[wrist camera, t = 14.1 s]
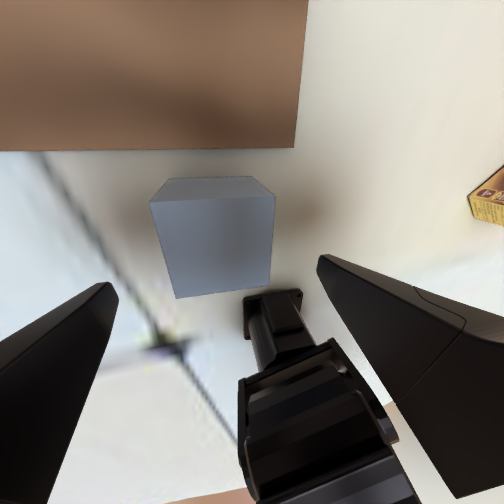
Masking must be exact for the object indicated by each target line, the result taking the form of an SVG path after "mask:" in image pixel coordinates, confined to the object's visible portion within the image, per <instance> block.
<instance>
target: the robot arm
mask: <svg viewBox="0 0 504 504" xmlns="http://www.w3.org/2000/svg"><path fill="white" fill-rule="evenodd" d="M316 271H317V275H318V277H319V279H320V281H321V283H322V285H323V287H324V289H325V291H326V293H327V295H328V297H329V299H330V301H331V302H332V304H333V306H334V307H335V309H336V311H337V312H338V314H339V315H340V317H341V318H342V320H343V322H344V323H345V325H346V326H347V328H348V330H349V331H350V333H351V334H352V336H353V337H354V339H355V341H356V342H357V344H358V345H359V347H360V349H361V350H362V352H363V353H364V355H365V357H366V358H367V360H368V361H369V363H370V364H371V366H372V368H373V369H374V371H375V372H376V374H377V376H378V377H379V379H380V380H381V382H382V383H383V385H384V387H385V388H386V390H387V391H388V393H389V395H390V396H391V398H392V399H393V401H394V402H395V403H396V406H397V407H398V409H399V411H400V412H401V414H402V415H403V417H404V419H405V420H406V422H407V423H408V425H409V427H410V428H411V430H412V431H413V433H414V434H415V436H416V438H417V439H418V441H419V442H420V444H421V446H422V447H423V449H424V450H425V452H426V453H427V455H428V457H429V458H430V460H431V462H432V463H433V465H434V466H435V468H436V469H437V471H438V473H439V474H440V476H441V477H442V479H443V481H444V482H445V484H446V485H447V487H448V488H449V490H450V491H451V493H452V494H453V495H454V497H455V498H456V499H459V498H462V497H466V496H469V495H472V494H475V493H479V492H482V491H485V490H488V489H491V488H494V487H498V486H501V485H504V317H502V316H499V315H496V314H493V313H490V312H487V311H484V310H481V309H478V308H475V307H472V306H469V305H466V304H463V303H460V302H457V301H454V300H451V299H448V298H445V297H442V296H439V295H437V294H434V293H431V292H428V291H426V290H423V289H420V288H418V287H415V286H411V285H410V284H407V283H404V282H402V281H399V280H396V279H394V278H391V277H388V276H386V275H383V274H380V273H378V272H375V271H372V270H370V269H367V268H364V267H362V266H359V265H356V264H354V263H351V262H348V261H346V260H343V259H340V258H338V257H335V256H332V255H330V254H325V255H320V257H319V259H318V264H317V269H316ZM302 298H303V293H302V291H301V290H300V289H297V290H290V291H284V292H278V293H272V294H265V295H259V296H253V297H247V298H244V299H243V301H242V305H243V331H244V339H245V340H251V341H252V345H253V349H254V353H255V358H256V362H257V366H258V371H259V373H256V374H254V375H252V376H250V377H248V378H242V379H240V380H239V381H238V458H239V465H240V467H241V468H242V471H243V475H244V479H245V482H246V485H247V488H248V490H249V493H250V495H251V497H252V498H253V499H254V501H256V504H422V503H421V501H420V499H419V497H418V495H417V494H416V492H415V490H414V488H413V486H412V484H411V482H410V480H409V478H408V476H407V474H406V473H405V471H404V469H403V467H402V465H401V463H400V461H399V459H398V457H397V456H396V454H395V452H394V450H393V448H392V446H391V445H392V444H394V443H397V442H399V437H398V434H397V432H396V430H395V428H394V426H393V424H392V422H391V420H390V419H389V417H388V415H387V413H386V412H385V410H384V408H383V406H382V405H381V403H380V402H379V400H378V398H377V397H376V395H375V394H374V392H373V391H372V389H371V388H370V386H369V385H368V384H367V382H366V381H365V379H364V378H363V377H362V375H361V374H360V373H359V371H358V370H357V369H356V367H355V366H354V365H353V363H352V362H351V361H350V359H349V358H348V357H347V355H346V354H345V353H344V351H343V350H342V348H341V347H340V346H339V344H338V343H337V342H336V340H335V339H334V338H333V337H332V338H330V339H328V340H327V342H324V343H322V344H320V345H318V346H317V345H316V343H315V341H314V339H313V337H312V335H311V334H310V332H309V330H308V328H307V326H306V324H305V323H304V321H303V319H302V317H301V315H300V308H301V303H302ZM247 302H248V303H247ZM118 304H119V298H118V295H117V293H116V291H115V289H114V287H113V285H112V284H111V283H110V282H102V283H96V284H95V285H93V286H91V287H90V288H88V289H86V290H85V291H83V292H81V293H80V294H78V295H76V296H75V297H73V298H71V299H70V300H68V301H67V302H65V303H63V304H62V305H60V306H58V307H57V308H55V309H53V310H52V311H50V312H48V313H47V314H45V315H43V316H42V317H40V318H38V319H37V320H35V321H34V322H32V323H30V324H29V325H27V326H25V327H24V328H22V329H20V330H19V331H17V332H15V333H14V334H12V335H10V336H9V337H7V338H5V339H4V340H2V341H1V342H0V504H47V502H48V499H49V497H50V494H51V491H52V489H53V486H54V484H55V481H56V478H57V476H58V473H59V470H60V468H61V465H62V463H63V460H64V457H65V455H66V452H67V449H68V447H69V444H70V441H71V439H72V436H73V434H74V431H75V428H76V426H77V423H78V420H79V418H80V415H81V413H82V410H83V407H84V405H85V402H86V399H87V397H88V394H89V391H90V389H91V386H92V384H93V381H94V378H95V376H96V373H97V370H98V368H99V365H100V363H101V360H102V357H103V355H104V352H105V349H106V347H107V344H108V341H109V338H110V335H111V331H112V327H113V323H114V319H115V315H116V312H117V308H118ZM338 371H339V372H338Z"/></svg>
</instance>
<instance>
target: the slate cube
mask: <svg viewBox="0 0 504 504" xmlns="http://www.w3.org/2000/svg"><path fill="white" fill-rule="evenodd" d="M149 205H150V209H151V213H152V216H153V220H154V223H155V227H156V230H157V234H158V237H159V241H160V244H161V248H162V251H163V255H164V258H165V262H166V266H167V269H168V273H169V276H170V280H171V283H172V287H173V290H174V294H175V297H176V299H178V298H185V297H192V296H199V295H206V294H213V293H220V292H227V291H234V290H240V289H247V288H254V287H261V286H268V285H269V281H270V266H271V252H272V237H273V223H274V208H275V195H274V194H273V193H271V192H270V191H269V190H268V189H266V188H265V187H264V186H263V185H262V184H260V183H259V182H258V181H257V180H255V179H254V178H253V177H252V176H240V177H209V178H178V179H168V181H167V182H166V183H165V184H164V185H163V186H162V188H161V189H160V190H159V191H158V192H157V193H156V195H155V196H154V197H153V198H152V199H151V200H150V202H149Z"/></svg>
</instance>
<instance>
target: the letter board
mask: <svg viewBox="0 0 504 504" xmlns="http://www.w3.org/2000/svg"><path fill="white" fill-rule="evenodd" d="M308 1H309V0H0V151H52V150H135V149H218V148H294V140H295V130H296V120H297V110H298V100H299V90H300V80H301V70H302V60H303V51H304V41H305V31H306V21H307V11H308Z"/></svg>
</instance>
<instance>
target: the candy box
mask: <svg viewBox="0 0 504 504" xmlns="http://www.w3.org/2000/svg"><path fill="white" fill-rule="evenodd" d="M468 198H469V201H470V203H471V207H472V210H473V214H474V217H475V218H477V219H480V220H484V221H487V222H490V223H493V224H497V225H500V226H503V227H504V168H502V169H501V170H500V171H499V172H497V173H496V174H495V175H494V176H492V177H491V178H490V179H489V180H488V181H487V182H485V183H484V184H483V185H482V186H480V187H479V188H477V189H476V190H475V191H473V192H472V193H471V194H470V195H468Z"/></svg>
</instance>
